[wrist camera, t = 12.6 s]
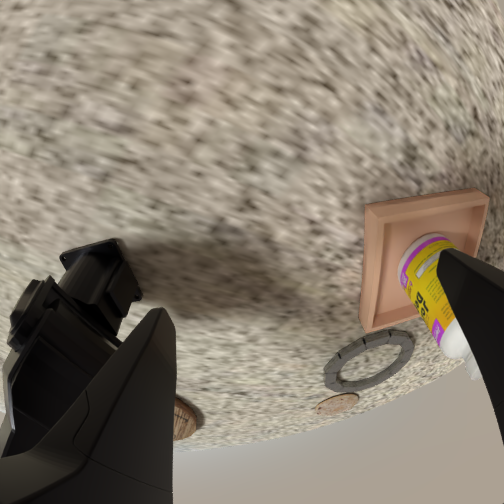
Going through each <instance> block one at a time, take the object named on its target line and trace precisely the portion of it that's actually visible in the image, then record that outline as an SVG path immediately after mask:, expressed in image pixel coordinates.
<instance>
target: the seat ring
mask: <svg viewBox="0 0 504 504" xmlns="http://www.w3.org/2000/svg"><path fill="white" fill-rule="evenodd" d="M384 344H395V345H401V347H402V349H401V352H400V355H399V357H398V358H397V359H396V360H395V361H394V362H393V363H392V364H391V365H390V366H389V367H388V368H387V369H385V370H384V371H382V372H380V373H379V374H377V375H375V376H373V377H371V378H367V379H364V380H361V381H357V382H342V381H340V380H339V379H337V378H336V375H337V372H338V371H339V370H340V369H341V368H342V367H343V365H344V364H345V363H346V362H347V361H348V360H350V359H352V358H353V357H355V356H357V355H359V354H360V353H362V352H364V351H365V350H367V349H371V348H374V347H378V346H381V345H384ZM413 350H414V345H413V343H412V341H411V339H410V338H409V336H408V334H407V332H405V331H396V330H388V331H387V330H385V331H382V332H378V333H375V334H371V335H368V336H364V337H363V339H362V338H360V339H358V340H357V341H355V342H353V343H352V344H350V345H348V346H347V347H345V348H343V349H342V350H340V351H339V352H337V353H336V354H335V356H334V357H333V358H332V359H331V360H330V361H329V362H328V364H327V365H326V366H325V367H324V384H325V386H326V387H327V388H329V389H331V390H333V391H334V392H354V391H355V392H357V391H360V390H364V389H367V388H370V387H373V386H375V385H378V384H380V383H381V382H383V381H385V380H387V379H388V378H390V377H392V376H393V375H394V374H396V373H397V372H398V371H399V370H400V369H401V368H402V367H403V366H404V365H405V364H406V363H407V362H408V361H409V360H410V357H411V355H412V353H413Z"/></svg>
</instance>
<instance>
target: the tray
mask: <svg viewBox="0 0 504 504" xmlns="http://www.w3.org/2000/svg"><path fill="white" fill-rule="evenodd" d="M489 201H490V198H489V197H488V196H486V195H485V194H483V193H482V192H480V191H479V190H477V189H476V188H469V189H461V190H454V191H447V192H440V193H434V194H427V195H420V196H414V197H407V198H401V199H395V200H389V201H382V202H376V203H370V204H365V230H364V256H363V272H362V286H361V297H360V307H359V316H358V317H359V320H360V322H361V324H362V326H363V328H364V331H365V333H369V332H373V331H376V330H380V329H383V328H386V327H390V326H393V325H396V324H399V323H402V322H405V321H408V320H411V319H414V318H417V317H420V316H421V315H420V314H419V313H418V311H417V309H416V308H415V306H414V305H413V303H412V302H411V300H410V298H409V297H408V295H407V294H406V292H405V291H404V289H403V288H402V286H401V285H400V283H399V280H398V266H399V263H400V260H401V258H402V256H403V254H404V253H405V251H406V250H407V249H408V248H409V246H410V245H411V244H412V243H414V242H415V241H416V240H417V239H419V238H420V237H422V236H424V235H427V234H431V233H438V234H441V235H444V236H445V237H446V238H448V239H449V240H450V241H451V242H452V243H453V244H454V245H455V246H456V247H457V248H458V249H459V250H460V251H461V252H463V253H465V254H468V255H470V256H472V257H474V258H476V256H477V253H478V249H479V246H480V242H481V238H482V234H483V230H484V225H485V221H486V216H487V211H488V206H489Z"/></svg>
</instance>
